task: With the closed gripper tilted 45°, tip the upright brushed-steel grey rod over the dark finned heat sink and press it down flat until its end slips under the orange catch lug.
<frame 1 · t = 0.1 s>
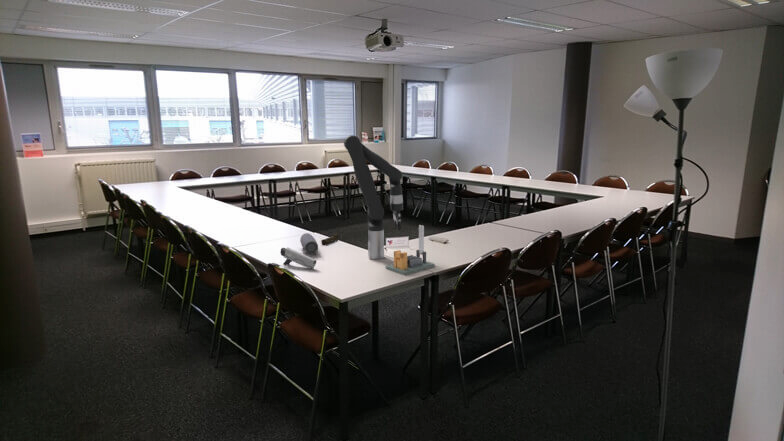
hand: (397, 228, 280), 17 cm above the table, tool pointing down, fingers open, 8 cm apart
heat sink: (411, 261, 260), point 4 cm above the table
lug catch: (400, 259, 254), point 6 cm above the table
socket board: (411, 267, 260), on the table
grey rod: (421, 239, 263), point 15 cm above the table, hinge at 0.0°
bluetooth speaker: (309, 251, 295), on the table
hand tool: (330, 242, 319), on the table
gun: (298, 267, 264), on the table
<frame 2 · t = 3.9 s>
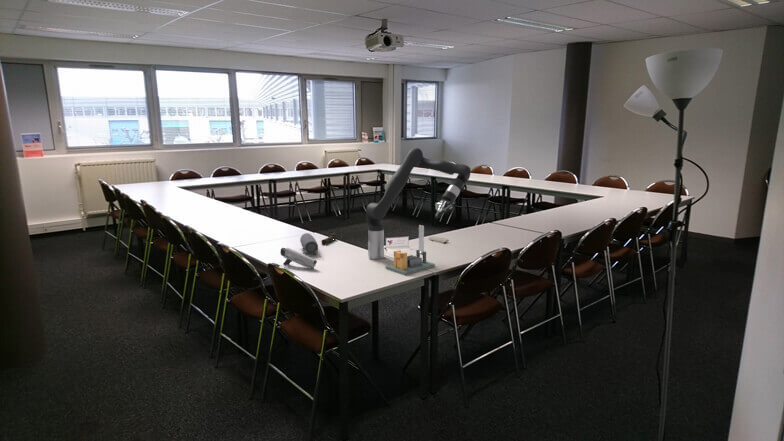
hand: (436, 217, 268), 26 cm above the table, tool tilted 45°, fingers closed
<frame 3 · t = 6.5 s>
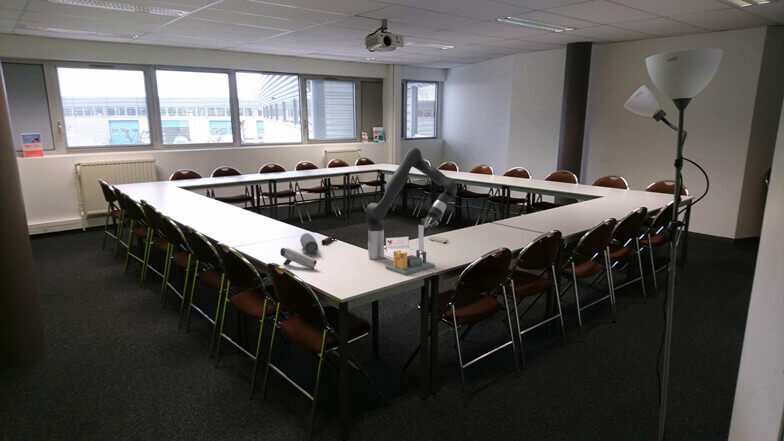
hand: (422, 233, 262), 18 cm above the table, tool tilted 45°, fingers closed
grey rod: (421, 239, 263), point 15 cm above the table, hinge at 1.1°, touching gripper
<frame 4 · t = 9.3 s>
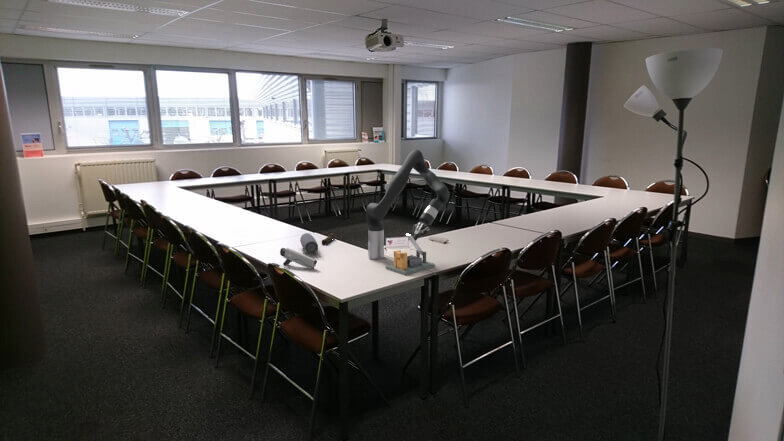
hand: (413, 240, 258), 16 cm above the table, tool tilted 45°, fingers closed
grey rod: (415, 244, 260), point 13 cm above the table, hinge at 39.5°, touching gripper
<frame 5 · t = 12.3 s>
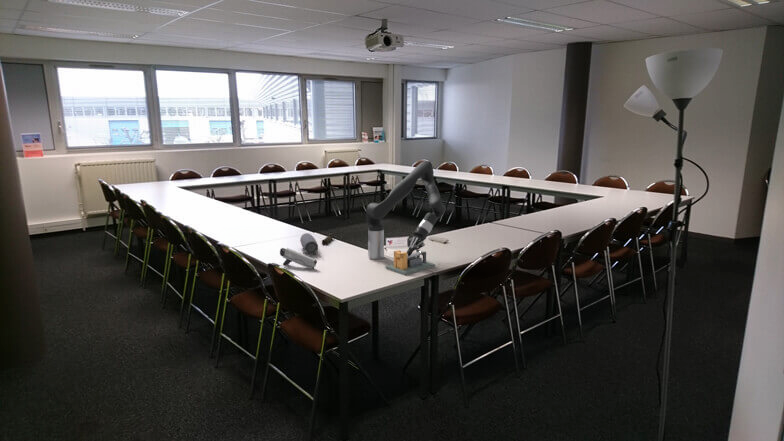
hand: (408, 254, 257), 8 cm above the table, tool tilted 45°, fingers closed
grey rod: (411, 255, 259), point 7 cm above the table, hinge at 90.7°, touching gripper, lug catch
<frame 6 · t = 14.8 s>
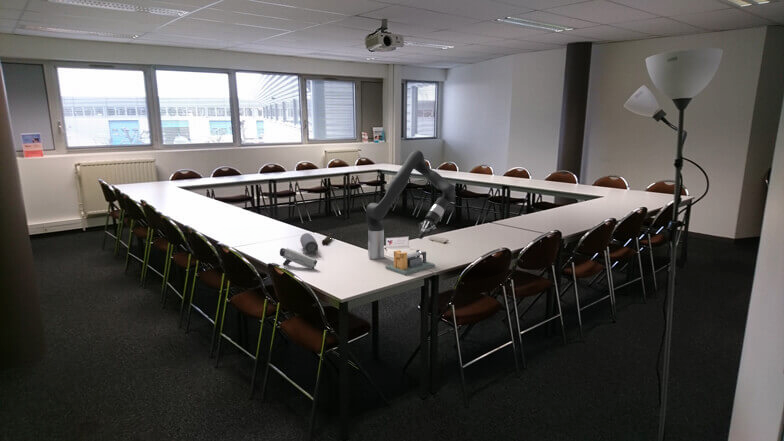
hand: (419, 238, 260), 16 cm above the table, tool tilted 45°, fingers closed
grey rod: (411, 255, 259), point 7 cm above the table, hinge at 90.7°, touching lug catch
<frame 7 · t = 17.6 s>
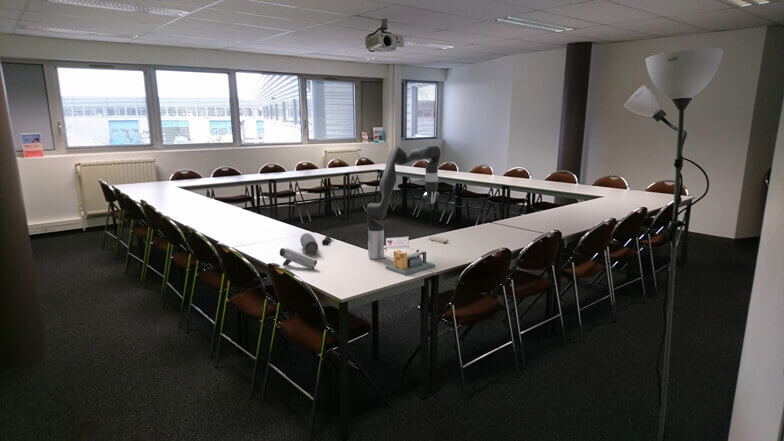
hand: (431, 209, 275), 29 cm above the table, tool pointing down, fingers closed
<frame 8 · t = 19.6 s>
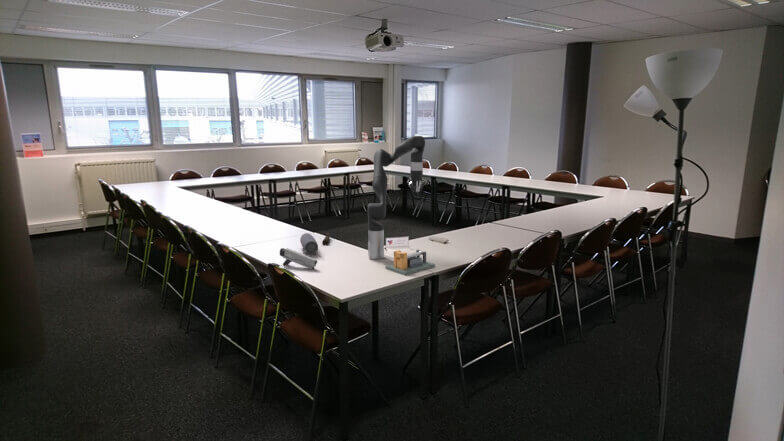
hand: (416, 197, 282), 35 cm above the table, tool pointing down, fingers closed
at the end: grey rod at +91° (first picture: +0°); grey rod touching lug catch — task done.
